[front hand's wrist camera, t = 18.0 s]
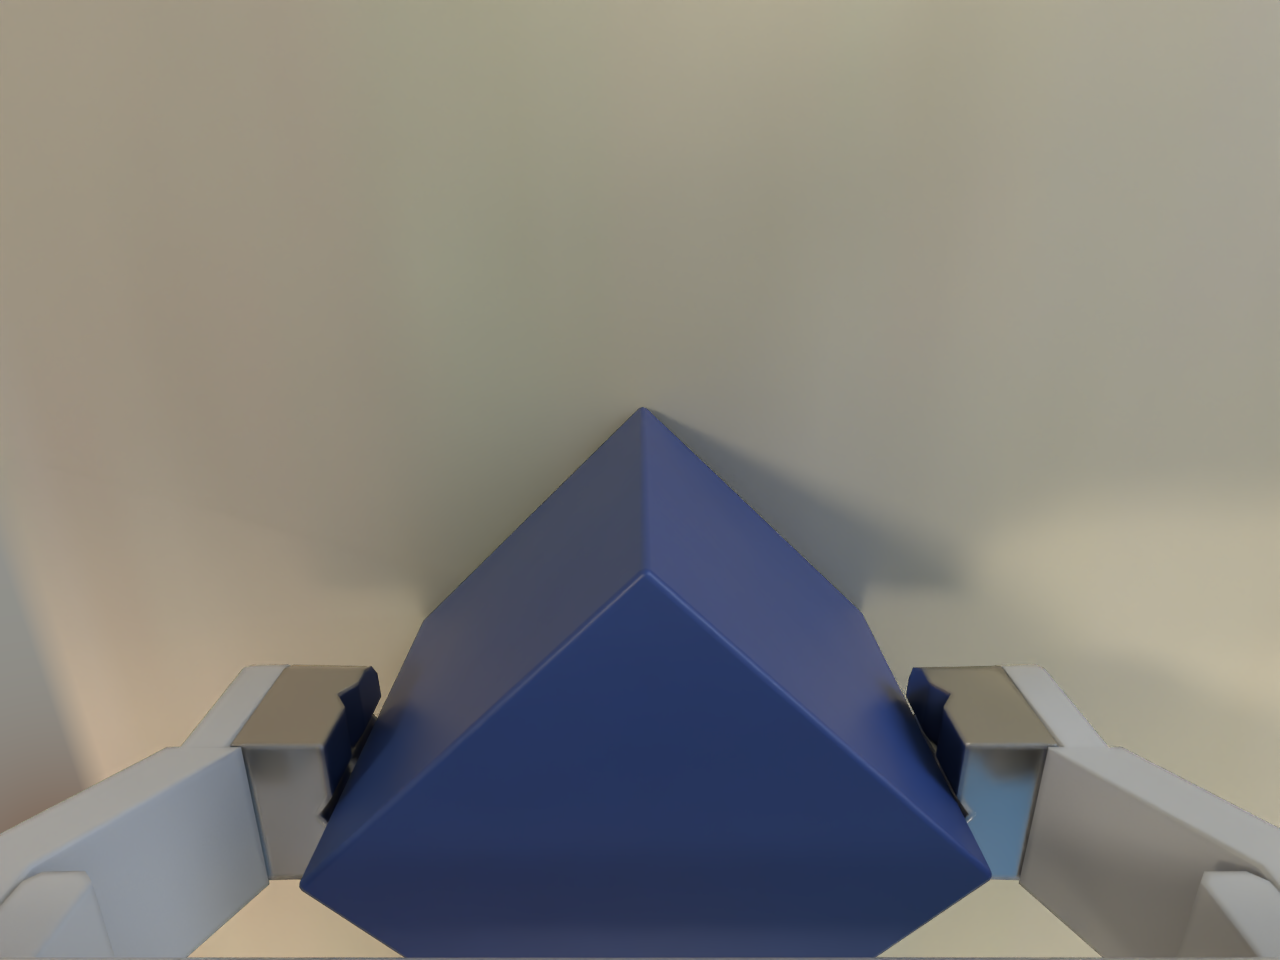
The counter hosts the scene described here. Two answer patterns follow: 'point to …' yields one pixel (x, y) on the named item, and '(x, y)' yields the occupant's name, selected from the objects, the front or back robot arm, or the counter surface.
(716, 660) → the block
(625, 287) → the counter surface
